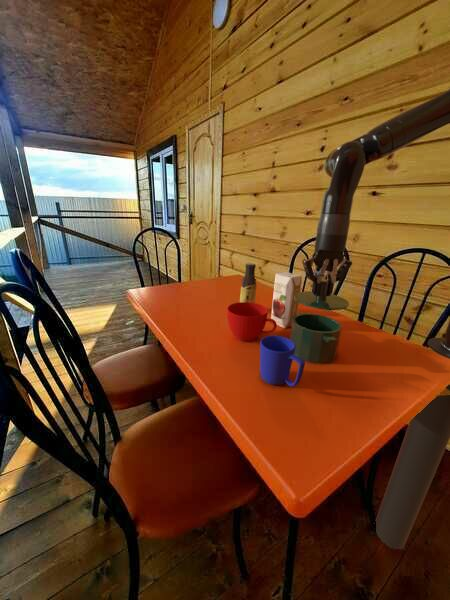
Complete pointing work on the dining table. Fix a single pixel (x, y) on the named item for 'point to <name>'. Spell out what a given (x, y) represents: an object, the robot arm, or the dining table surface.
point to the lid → (322, 299)
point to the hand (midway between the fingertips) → (321, 294)
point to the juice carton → (285, 298)
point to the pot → (315, 337)
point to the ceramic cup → (248, 320)
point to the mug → (278, 360)
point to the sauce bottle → (248, 284)
